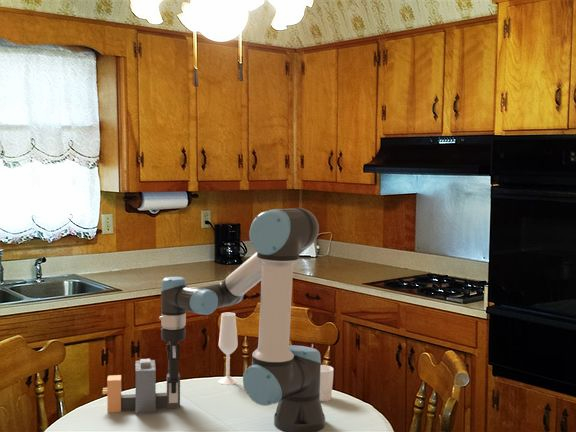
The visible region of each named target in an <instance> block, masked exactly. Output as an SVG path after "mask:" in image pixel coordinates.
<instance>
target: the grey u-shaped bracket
mask: <svg viewBox="0 0 576 432" xmlns="http://www.w3.org/2000/svg"><path fill="white" fill-rule="evenodd" d="M156 368H157V367H156V360H155V359H151V358H140V359H139V360H135V394H136V410H135V415H150V414H151V415H152V414H153V415H154V414H156V410H157V409H156V393H157V391H156V390H157V389H156V386H157V385H156V384H157V383H156V382H157V381H156V377H157V375H156V374H157V373H156V371H157V369H156Z"/></svg>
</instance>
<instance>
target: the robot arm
mask: <svg viewBox="0 0 576 432" xmlns="http://www.w3.org/2000/svg"><path fill="white" fill-rule="evenodd" d="M319 231H320V227H319V222H318V219H317V218H316V216H315V215H314V214H313V213H312V212H311V211H310V210H308V209H306V208H303V207H292V208H273V209H269V210H266V211H265V210H264V211H263V212H260V213H259V214H258V215H257V216H256V217H255V218H253V221H252V222H251V225H250V229H249V240H250V241H249V242H250V244H251V245H252V248H253V249H254V250H255V251H256V252H255V253H254V254H252V255H251V256H250V257H249V258H248V259H246V260H245V261H244V262H243V263H242V264H240V266H238V267H237V268H235V270H233V271H232V272H231V273H230V274H229V275H228V276H226V278H224V279H223V280H222V281H220V282H219V283H214V284H209V285H204V286H199V287H197V286H196V287H194V286H188V285H187V283H186V282H187V281H186V278H185V277H182V276H168V277H167V276H166V277H164V278H163V279H162V280H161V287H160V299H161V301H160V302H161V303H160V308H161V309H160V310H161V311H160V312H161V313H160V314H161V315H160V316H159V317H158V319H159V320H160V321H161V323H160V324H161V328H160V337H161V340H162V341H164V342H167V344H166V352H167V353H166V354H167V360H168V361H167V362H168V363H167V364H168V369H167V372H168V373H167V374H170V380H169V381H167V380H166V384H167V383H169V403H178V381H179V380H178V373H179V361H180V351H181V346H180V343H179V342H181V341H184V340H186V327H185V326H186V323H187V322H186V320H187V316H186V315H187V314H186V313H187V312H190V313H194V314H197V315H207V316H208V315H211V314H212V313H214V311H216V309H219V308H224V307H231V306H234V305H236V304H238V303H240V302H242V300H243V298H244V295H245V294H247V292H248V291H250V290H251V289H252V288H254V287H255V286H257V284H259V283H260V299H259V300H260V303H259V322H258V323H259V324H258V344H257V348H256V349H255V350H254V351H253V352H252V355H251V356H252V357H251V358H252V360H251V365H249V366H248V367H247V368H246V369H245V370H244V372H243V375H242V383H243V388H244V390H245V392H246V395H248V396H249V398H250V399H251V401H253V403H256V404H257V405H260V406H270V405H275V404H277V407H276V410H275V412H274V417H273V425H274V426H275V427H276V428H277V429H279V430H281V431H284V432H319V431H321V430H322V429H324V427H325V426H326V416H325V413H324V412H323V411H324V410H323V406H322V403H321V402H322V401H320V366H321V365H322V362H321V353H320V351H319V350H318V349H316V348H313V347H311V346H310V347H309V346H304V345H295V344H294V345H293V344H292V345H290V335H291V317H292V316H291V314H292V299H293V298H292V295H293V279H294V278H293V276H294V275H293V274H294V266H295V264H296V263H298V261H300V254H301V255H302V253H303V252H304V251H306V250H307V249H308V248H310V247H311V246H312V245H313V244H314V243H315V241H316V240H317V238H318V236H319Z"/></svg>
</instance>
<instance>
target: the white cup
mask: <svg viewBox="0 0 576 432" xmlns="http://www.w3.org/2000/svg"><path fill="white" fill-rule="evenodd" d="M334 371H335V370H334V367H332V366H331V365H326V364H325V365H324V364H321V366H320V402H329V401H331V399H332V394H333V393H332V392H333V384H334Z"/></svg>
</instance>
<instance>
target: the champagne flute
mask: <svg viewBox="0 0 576 432" xmlns="http://www.w3.org/2000/svg"><path fill="white" fill-rule="evenodd" d="M218 337H219V339H218V347H219V349H220V351H221V352H222V353H224V354H225V357H226V359H225V361H226V362H225V365H226V366H225V367H226V368H225V369H226V370H225V371H226V372H225V374H226V375H225V376H224V377H222V378H221V379H219V380H218V381H217V382H218V383H219V384H221V385H228V386H229V385H234V384H237V383H238V380H237V379H235V378H233V377H232V376H230V374H231V373H230V372H231V371H230V369H231V367H230V364H231V363H230V361H231V357H230V356H231V354H233V353H234V352H235V351H236V349H237V348H238V347H239V346H238V345H239V344H238V343H239V342H238V341H239V340H238V330H237V318H236V313H235V312H222V313H221V319H220V327H219V335H218Z"/></svg>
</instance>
